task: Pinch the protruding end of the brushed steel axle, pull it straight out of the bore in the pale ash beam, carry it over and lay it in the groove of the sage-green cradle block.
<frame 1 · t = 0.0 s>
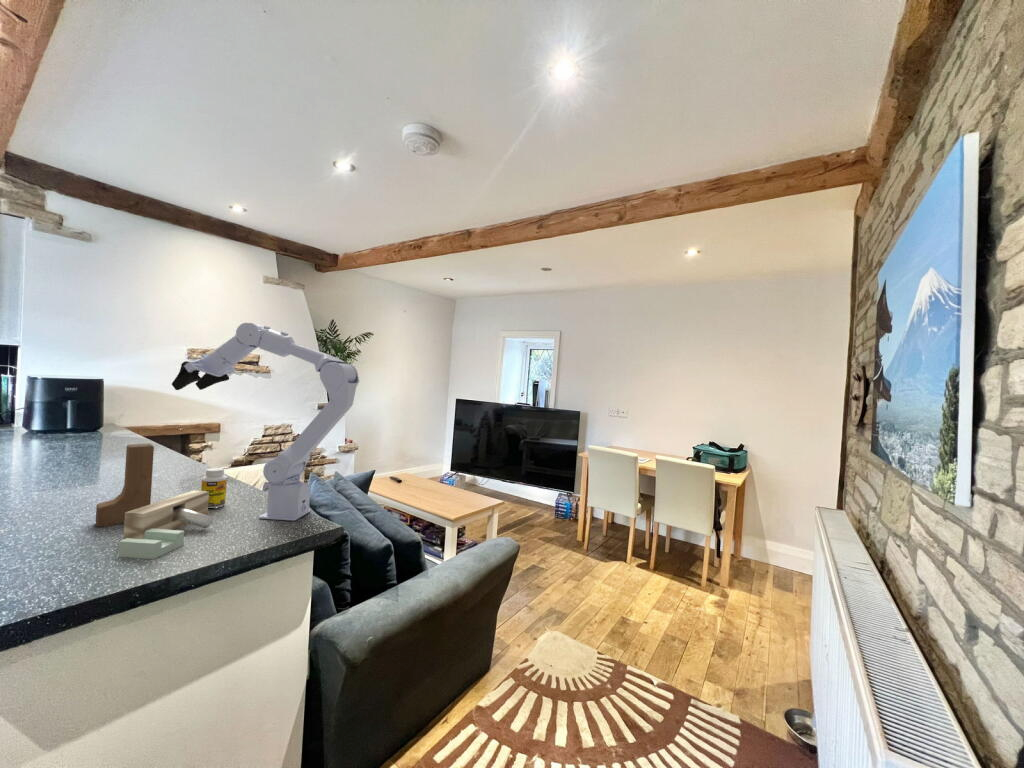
hand: (187, 386, 108), 32 cm above the counter, tool tilted 50°, fingers open, 7 cm apart
axle: (188, 516, 94), point 3 cm above the counter, tilted 13°, touching beam
beam: (169, 527, 94), on the counter
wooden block: (123, 521, 97), on the counter
v block: (152, 550, 82), on the counter
supplement bottle: (212, 507, 110), on the counter
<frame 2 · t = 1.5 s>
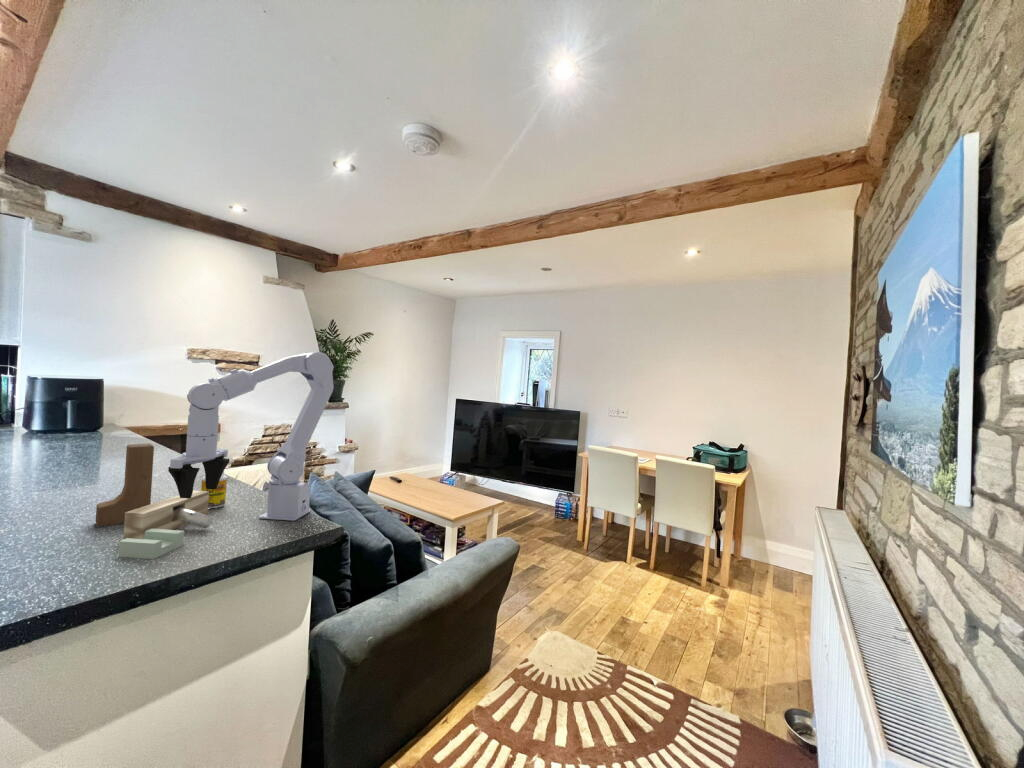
hand: (198, 493, 94), 8 cm above the counter, tool pointing down, fingers open, 7 cm apart
nothing on the counter moved.
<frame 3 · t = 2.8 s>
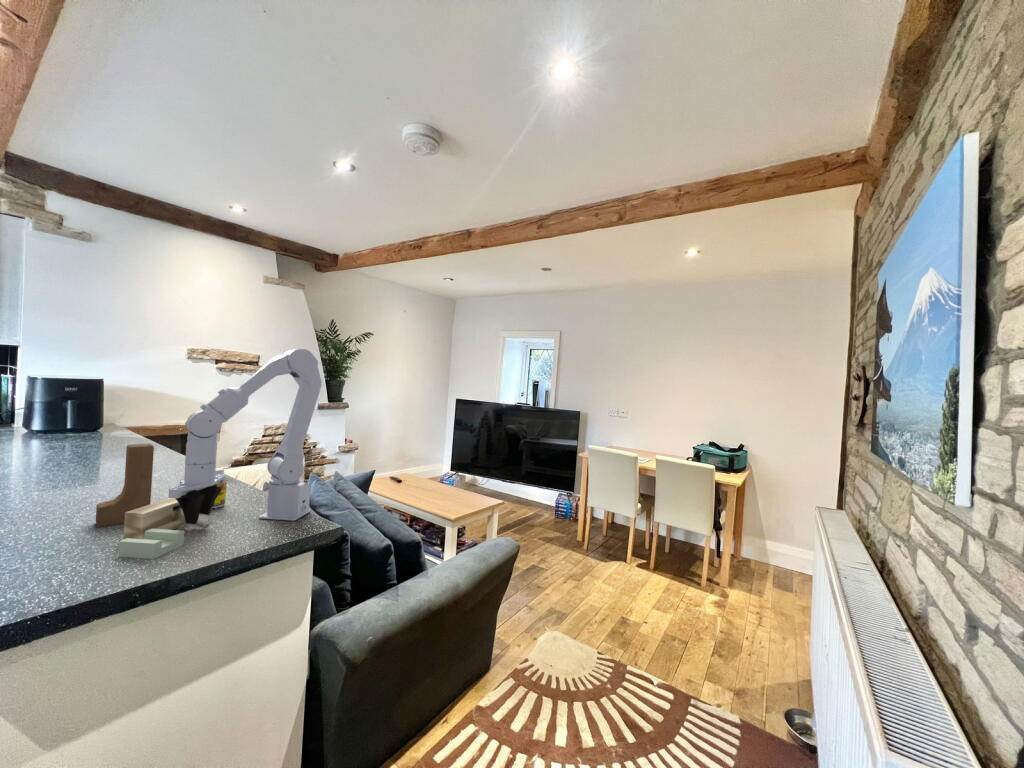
hand: (197, 520, 94), 2 cm above the counter, tool pointing down, fingers closed on axle, 3 cm apart
axle: (188, 516, 94), point 3 cm above the counter, tilted 13°, touching beam, gripper
everything else where it was.
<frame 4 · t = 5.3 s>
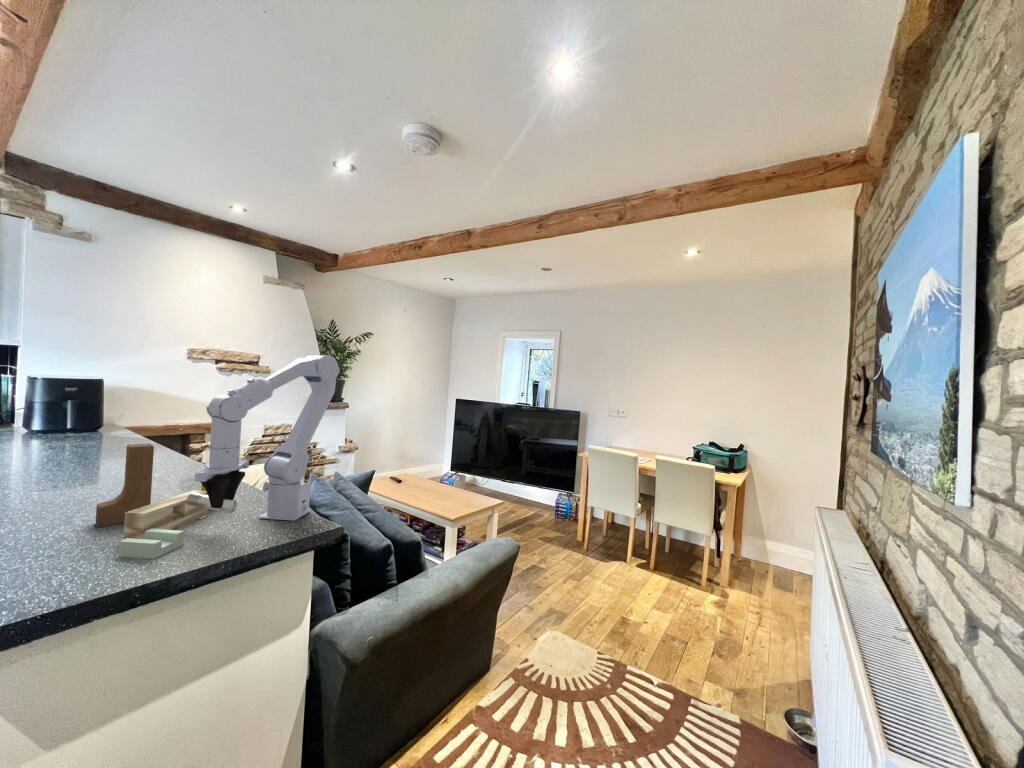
hand: (222, 505, 94), 6 cm above the counter, tool pointing down, fingers closed on axle, 3 cm apart
axle: (212, 502, 94), point 6 cm above the counter, tilted 8°, touching gripper
everything else where it was.
when the fingers open (4 cm above the counter, at t = 7.6 s): axle stays where it is, resting on v block.
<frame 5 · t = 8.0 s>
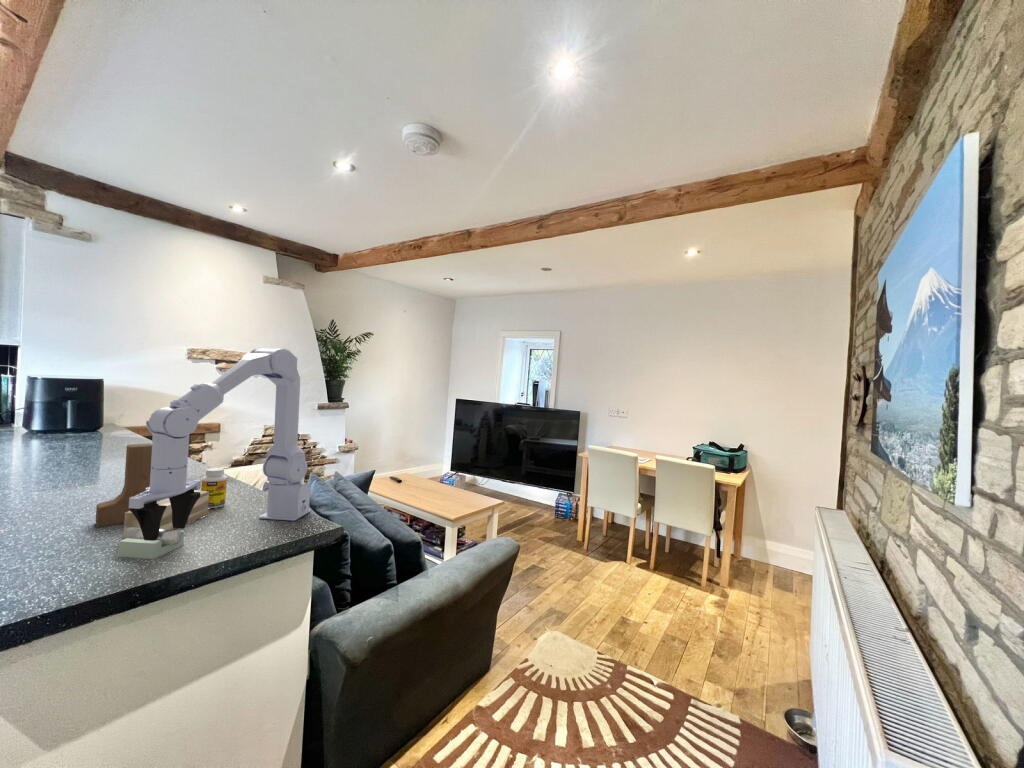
hand: (165, 533, 82), 4 cm above the counter, tool pointing down, fingers open, 6 cm apart
axle: (152, 536, 82), point 3 cm above the counter, touching v block
everything else where it was.
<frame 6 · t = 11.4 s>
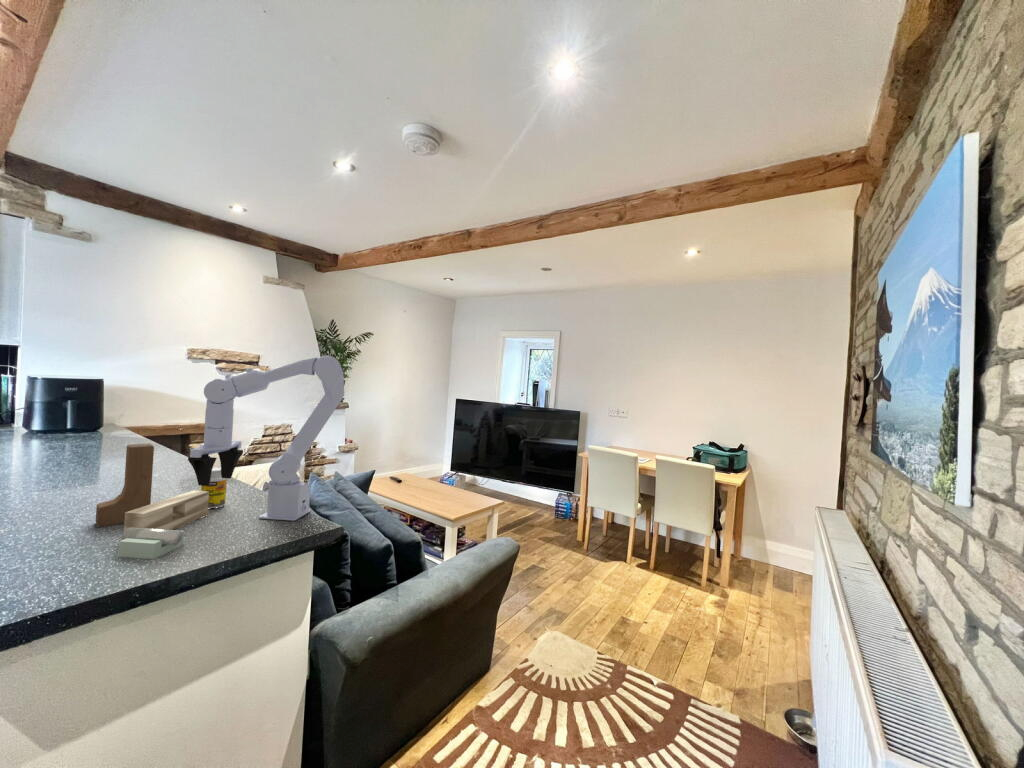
hand: (215, 481, 101), 9 cm above the counter, tool pointing down, fingers open, 7 cm apart
nothing on the counter moved.
at the end: axle 0.2 cm off-centre on the v block, point 2.9 cm above the v block's base; the gripper is holding nothing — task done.
